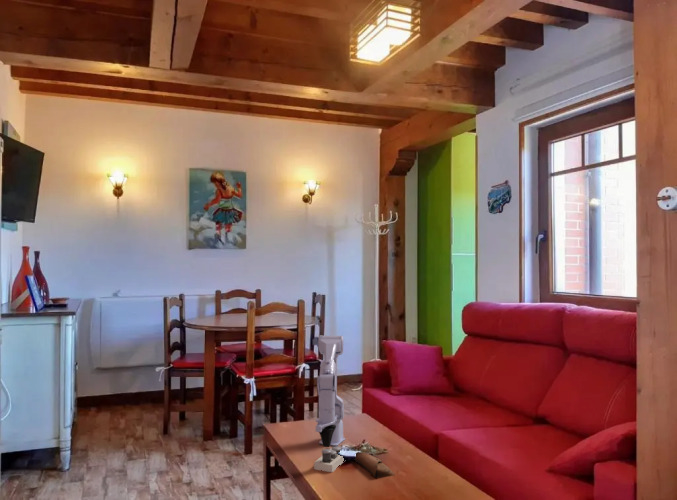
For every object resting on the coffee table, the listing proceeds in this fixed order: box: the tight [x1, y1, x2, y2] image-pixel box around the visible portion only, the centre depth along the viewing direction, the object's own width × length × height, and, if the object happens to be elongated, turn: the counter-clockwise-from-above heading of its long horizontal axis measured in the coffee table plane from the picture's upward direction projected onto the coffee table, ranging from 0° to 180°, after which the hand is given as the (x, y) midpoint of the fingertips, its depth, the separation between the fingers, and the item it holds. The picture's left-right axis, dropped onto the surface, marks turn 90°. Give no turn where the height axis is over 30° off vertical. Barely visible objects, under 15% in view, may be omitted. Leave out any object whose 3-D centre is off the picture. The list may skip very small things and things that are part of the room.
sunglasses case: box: [353, 451, 396, 479], centre depth 193 cm, size 18×7×7 cm
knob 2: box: [330, 445, 342, 455], centre depth 201 cm, size 4×4×4 cm
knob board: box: [313, 448, 345, 473], centre depth 197 cm, size 15×7×2 cm, turn 158°
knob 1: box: [321, 448, 332, 462], centre depth 193 cm, size 4×4×4 cm
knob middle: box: [331, 450, 337, 459], centre depth 197 cm, size 4×4×4 cm
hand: (326, 446), depth 193 cm, fingers closed
